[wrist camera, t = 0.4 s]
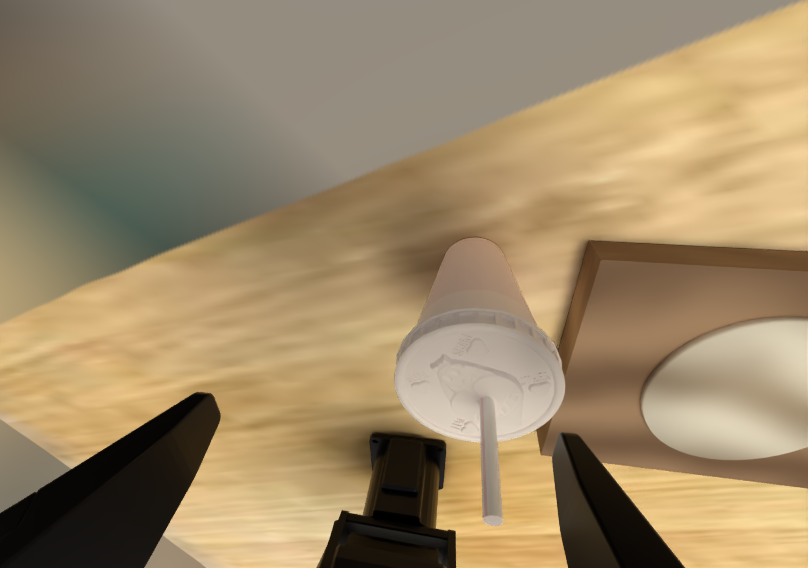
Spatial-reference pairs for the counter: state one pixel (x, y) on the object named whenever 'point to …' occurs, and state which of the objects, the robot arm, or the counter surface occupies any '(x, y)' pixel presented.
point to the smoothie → (479, 361)
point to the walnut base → (689, 361)
